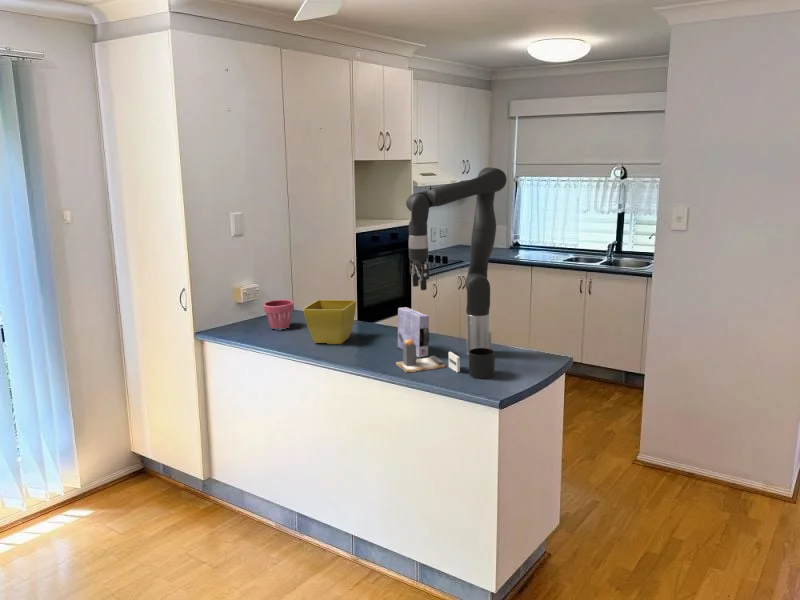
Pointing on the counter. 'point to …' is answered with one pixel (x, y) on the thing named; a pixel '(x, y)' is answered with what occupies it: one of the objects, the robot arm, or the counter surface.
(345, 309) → the flower pot
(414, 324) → the cake pan box
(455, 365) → the block
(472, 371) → the mug
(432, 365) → the clipboard
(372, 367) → the counter surface
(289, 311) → the plant pot
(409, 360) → the ball-topped gray post
